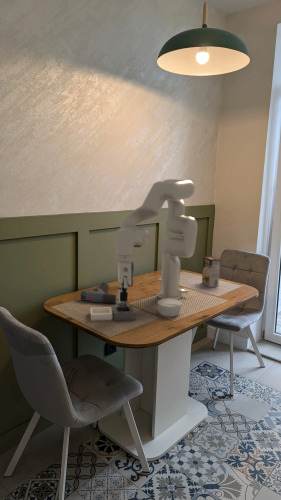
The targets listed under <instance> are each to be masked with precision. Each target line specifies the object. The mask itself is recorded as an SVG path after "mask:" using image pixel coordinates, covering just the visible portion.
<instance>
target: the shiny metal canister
mask: <svg viewBox="0 0 281 500" xmlns="http://www.w3.org/2000/svg"><path fill="white" fill-rule="evenodd" d="M122 288H123V287H122ZM117 289H118V290H117V291H118V295H117V296H118V302H117V306H118V307H120V308H125V307H127V306H128V300H127V301H120V292H121V285H118V288H117ZM127 292H128V293H129V290H128V291H127ZM127 299H128V297H127Z"/></svg>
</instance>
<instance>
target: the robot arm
mask: <svg viewBox="0 0 281 500" xmlns="http://www.w3.org/2000/svg"><path fill="white" fill-rule="evenodd" d="M194 193H195V183H194V182H193V181H192V180H190V179H174V178H173V179H170V178H169V179H164V180H163V181H156V182H155V183H153V184H152V186H151V188H150V190H149V192H148V193H147V195H146V197H145V199H144V201H143V203H142V204H141V205H140V206H139V207H138V208H136V209H135V210H133V211H132V212H130V213H128V215H127V216H126V218H124V220H123V222H122V223H121V225H120V227H119V229H117V231H116V234H115V235H116V236H115V237H116V238H115V240H116V241H115V262H116V263H117V281H118V284H119V285H121V292H120V301H127V302H128V298H127V297H128V294H129V287H132V286H131V263H132V262H133V263H134V254H135V251H134V249H135V247H134V245H142V246H144V245H147V244H148V243H149V241H150V239H151V234H150V232H149V230H148V229H146V228H143V227H138V226H137V225H138V224H140V223H142V222H144V221H147V220H150V219H152V218H156V217H157V216H159V214H160V212H161V210H162V207H163V206H164V205H165V202H167V214H166V226H165V229H166V231H167V233H169V234H173V235H178V236H183V237H178V236H170V235H169V236H165V237H163V238H162V240H161V242H160V251H161V252H160V253H161V274H160V275H161V276H160V277H161V278H160V291H159V292H157V295H156V296H157V297H158V299H164V298H170V299H176V300H180V299H182V295H183V294H185V295H186V294H187V295H188V294H189V290H188V289H185V288H182V289H181V288H180V283H181V282H180V280H181V279H180V278H181V277H180V276H181V260H180V258H185V259H186V258H187V259H189V258H192V257H193V256H194V254H195V250H196V243H197V236H198V223H197V220H196V218H195V217H192V216H187V215H185V212H186V203H185V201H184V200H186V199H190V198H191V197H192V196H193V195H194ZM179 257H180V258H179ZM119 285H118V286H119ZM128 285H129V286H128ZM122 287H123V288H122ZM127 291H128V292H127Z"/></svg>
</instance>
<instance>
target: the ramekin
mask: <svg viewBox="0 0 281 500" xmlns="http://www.w3.org/2000/svg"><path fill="white" fill-rule="evenodd" d="M156 302H157V303H156V304H157V311H158V312H159V314H160V315H162V316H164V317H177V316H179V315H180V312H181V308H182V304H183V303H182V301H181V300H180V299H178V300H176V299H170V298H164V299H161V298H159V300H157V301H156Z"/></svg>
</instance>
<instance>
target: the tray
mask: <svg viewBox="0 0 281 500" xmlns="http://www.w3.org/2000/svg"><path fill="white" fill-rule="evenodd" d="M89 308H90V310H89V312H90V321H92V322H93V321H113V316H112V306H97V307H95V306H93V307H92V306H91V307H89Z"/></svg>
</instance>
